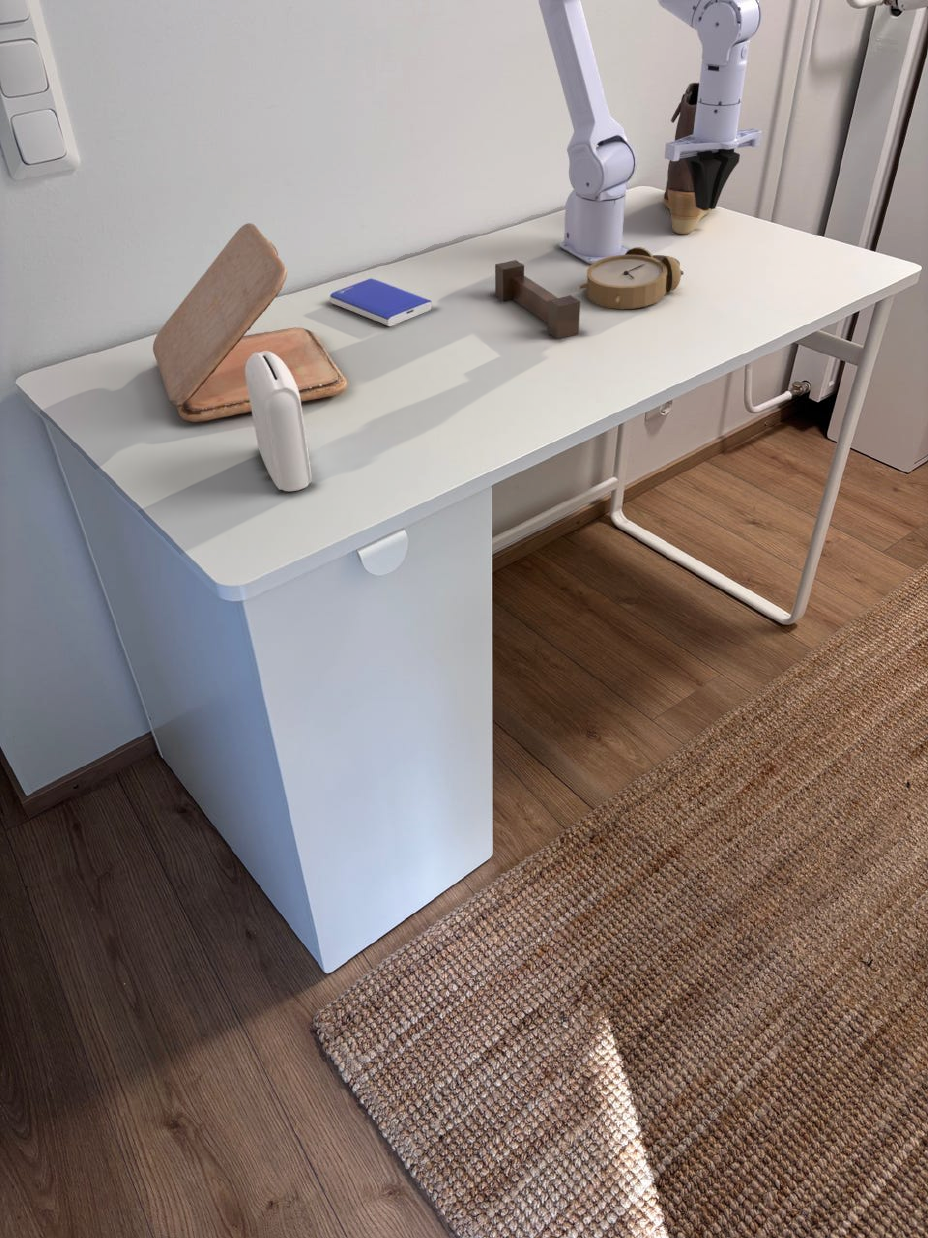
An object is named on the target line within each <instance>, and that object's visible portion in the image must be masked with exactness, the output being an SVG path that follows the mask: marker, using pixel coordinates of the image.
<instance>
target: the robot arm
mask: <svg viewBox="0 0 928 1238" xmlns="http://www.w3.org/2000/svg"><path fill="white" fill-rule="evenodd" d="M657 2H658V5H659V6H660V7H661V8H663V9H664V10H666V11H667V12H669V13H670V14H671V15H673V16H675V17H676V18H677V19H678V20H681V21H682V22H683V23H685V24H686V25H688V26H689V27H690V28H692V29H693V30H695V31H696V34H697V37H698V39H699V42H700V44H701V48H702V52H701V65H700V72H699V73H700V74H699V81H698V83H699V91H698V99H697V107H696V116H695V124H694V133H693V135H690V136H687V137H685V138H682V139H679V140H676V141H675V140H673V141H670V142H666V143H665V150H664V159H666V160H668V161H670V160H671V161H678V160H679V159H680V158H685V161H686V163H687V166H688V168H689V171H690V174H691V177H692V181H693V186H694V193H695V202H696V207H697V208H699V209H702V210H708V209H709V208H710V209H712V210H713V209H714V210H715V209H716V208H717V205H718V202H719V199H720V198H721V194H722V192H723V190H724V187H725V185H726V183H727V181H728V179H729V177H730V175H731V174H732V172H733V171H734V169H735V168H736V167H737V165H738V164H739V162H740V158H741V154H740V153H739V152H736V151H735V150H736V149H743V148H747V147H752V148H756V147H760V145H761V140H762V133H763V131H762V130H760V129H757V128H754V127H752V128H741V129H738V127H739V121H740V113H741V107H742V100H743V93H744V88H745V87H744V86H745V79H746V73H747V64H748V57H749V51H750V42H751V40H750V39H751V38H753V37H754V36H755V35H756V33H757V32H758V30H759V27H760V25H761V20H762V8H761V5H760V2H759V0H657ZM538 5H539V8H540V11H541V16H542V20H543V23H544V26H545V30H546V34H547V37H548V41H549V45H550V48H551V52H552V56H553V59H554V63H555V66H556V70H557V74H558V77H559V81H560V84H561V85H560V86H561V88H562V92H563V95H564V99H565V101H566V102H565V103H566V107H567V109H568V113H569V117H570V121H571V124H572V128H573V134H572V136H571V138H570V141H569V143H568V144H567V148H566V152H567V156H568V160H569V162H568V163H569V165H568V166H569V167H568V178H569V183H570V185H571V187H572V189H573V190H572V191H571V192H570V193H569V195H568V197H567V199H566V202H565V207H564V208H565V209H564V211H565V212H564V231H563V232H564V233H563V241H561V242H559V243H558V247H559V248H561V249H563V250H564V251H566V252H568V253H569V254H572V255H573V256H575V257H577V258H579V259H580V260H582V261H584V262H585V263H587V264H590V265H591V264H593V263H595V262H597V261H598V260H601V259H604V258H607V257H611V256H617V255H625V254H626V253H627V252H628V251H629V250H630V249H628V248H627V247H625V246H623V235H624V234H623V232H624V221H625V220H624V219H625V207H626V196H627V195H626V193H627V190H628V185H629V184H628V182H629V181H630V180H631V179H633V177H634V175H635V174H636V171H637V169H638V168H637V167H638V157H637V153H636V150H635V149H634V147H633V146H632V144H631V143H630V141H629V140H628V138H627V136H626V133H625V129H624V127H623V126H622V125H621V124H620V123H618V122H617V121H616V120H615V119H614V118H613V117H612V116H611V113H610V109H609V106H608V102H607V98H606V94H605V90H604V86H603V82H602V79H601V75H600V71H599V66H598V63H597V59H596V56H595V55H596V54H595V52H594V48H593V45H592V41H591V36H590V33H589V29H588V25H587V21H586V18H585V13H584V9H583V6H582V3H581V0H538Z"/></svg>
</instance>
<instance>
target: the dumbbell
mask: <svg viewBox="0 0 928 1238" xmlns="http://www.w3.org/2000/svg"><path fill="white" fill-rule="evenodd" d="M494 281H495V282H494V292H495V293H494V295H495V296H496V297H497V298H498V299H499V300H501V301H502V302H503V301H508V300H513V301H514V302H515V303H518V304H519V305H520V306H522V307H523V308H524V309H526V310H528V311H529V312H530V313H532V314H533V315H534V316H536V317H538V318H539V319H540V320H542V321H543V322H544V323H546V324H547V334H548V335H550V336H552V338H554V339H556V340H559V339H563V338H567V337H572V336H576V335H579V333H580V332H579V331H580V314H581V313H580V312H581V301H580V300H579V299H578V298H576V297H574V296H573V295H572V294H569V295H565V296H560V297H557V296H556V295H555V294H553V293H552V292H550V291H549V290H547V289H545V288H544V287H543V286H541V285H539V284H538V283H537V282H535V281H533V279H530V278H529V277H527V276H526V275H525V265H524V264H523V263H521V262H519V260H517V259H515V260H510V261H505V262H500V263H494Z"/></svg>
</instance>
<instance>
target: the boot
mask: <svg viewBox="0 0 928 1238" xmlns="http://www.w3.org/2000/svg"><path fill="white" fill-rule="evenodd" d="M698 91H699V82H691V83H689V84H688V86H687V88H686V90H685V91H684V93H683V94H682V96H681V100H680V102H679V103H678V105H677V107H676V109H675V111H674V113H673V115H672V116H671V118H670V122H671V123H672V124H673V123H675V122H676V120H677V118H678V120H677V124H676V129H675V133H674V141H676V140H679V139H682V138H685V137H687V136H690V135H693V133H694V124H695V116H696V107H697V99H698ZM666 177H667V178H666V186H665V191H664V194H663V203H664V206H665V207H666V208H667V209H668V210H669V214H670V218H671V226H672V228H671V229H672V231H673V232H674V233H675V234H677V235H688V234H691V233H692V232H694V230H695V229H696V227H697V225H698V223H699V221H700V220H701V219H702V218H703V217H705V216H706V215H708V214H710V213H711V212H712V211H713V209H710V208H709V209H708V210H702V209H699V208H697V207H696V202H695V193H694V186H693V181H692V177H691V174H690V171H689V168H688V166H687V163H686V161H685V158H680V159H679V160H678V161H671V160H668V167H667V174H666Z"/></svg>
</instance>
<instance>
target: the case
mask: <svg viewBox="0 0 928 1238" xmlns="http://www.w3.org/2000/svg"><path fill="white" fill-rule="evenodd" d="M287 276H288V269H287V266H286V264H284V262H283V260H282V258H280V257H279V252H278V250H277V248H276V246H275V245H274V244H273V243H272V242H271V241H270V240H269V239H268V238H267V237H266V236H264V235H263V234H262V233H261V231H260V229H258V227H257V226H256V225H255V224H254V223H251V222H247V223H245V224H243V225H242V226H241V227H239V228H238V229H237V231H236V232H235V233H234V234H233V236H232V237H231V238H230V239H229V240H228V242H227V243H226V244H225V246H224V247H223V249H222V250H221V251H220V253H218V254H217V257H216V258H214V260H213V262H211V264H210V265H209V267H208V268H207V269H206V270H205V272H204V273H203V274H202V275H201V276H200V278H199V279H198V281H197V282H196V284H194V286H193V287H192V288H191V290H190V291H189V292H188V294H187V295H186V296H185V297H184V298H183V300H182V301H181V303H180V304H179V305H178V306H177V308H176V309H175V310H174V312H173V313H172V314H171V316H170V317H169V318H168V319H167V320H166V322H165V323H164V324H163V326H161V328H160V330H159V331H158V332H157V334H156V336H155V337H154V341H153V344H152V352H153V355H154V357H155V358H154V359H155V360H156V364H157V366H158V369H159V372H160V374H161V378H162V381H163V384H164V387H165V391H166V393H167V397H168V400H169V401H170V403H172V404H173V405H174V406H176V409H177V412H178V415H179V417H180V418H181V419H182V420H183V421H186V422H191V423H198V422H199V423H200V422H206V421H211V420H216V419H220V418H221V419H222V418H227V417H230V416H235V415H240V414H245V413H250V412H251V413H252V410H251V404H250V399H249V393H248V388H247V382H246V377H245V366H246V363H247V360H248V359H249V357H250V356H251V355H252V354H253V353H261V352H263V351H268V352H271V353H273V354H275V355H277V356H278V357H279V358H280V359H281V360H282V361H283V362H284V363H285V365H286V366H287V367H288V369H289V371H290V372H291V374H292V376H293V378H294V380H295V383H296V385H297V388H298V391H299V394H300V400H301V403H302V402H306V401H312V400H317V399H323V398H329V397H333V396H337V395H339V394H342V393H343V392H345V391H346V389H347V387H348V381H347V378H346V377H345V376H344V374H343V373H342V371H340V368H339V367H338V366H337V364H336V363H335V362H334V360H333V358H332V357H331V356H330V354H329V353H328V351H327V349H326V348H325V347H324V345H323V343H322V342H321V340H320V339H319V337H318V335H317V334H316V333H315V332H313V331H311V330H309V329H307V328H304V327H289V328H282V329H277V330H273V331H272V330H271V331H265V332H257V333H253V334H252V333H251V334H247V332H248V331H249V330H250V329H251V328H252V326H253V325H254V324H255V323H256V321H258V319H259V318H260V317H261V316H262V314H263V313H264V312H266V310H268V307H269V306H270V305H271V304H272V302H273V301H274V300H275V298H276V297H278V295H279V294H280V292H281V290H282V289H283V286H284V285H285V282H286V279H287ZM245 334H247V335H245Z"/></svg>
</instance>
